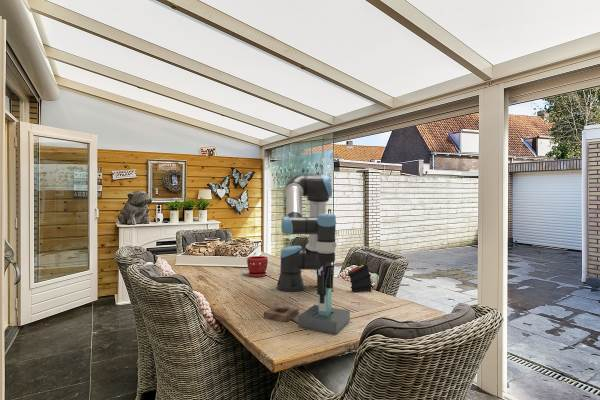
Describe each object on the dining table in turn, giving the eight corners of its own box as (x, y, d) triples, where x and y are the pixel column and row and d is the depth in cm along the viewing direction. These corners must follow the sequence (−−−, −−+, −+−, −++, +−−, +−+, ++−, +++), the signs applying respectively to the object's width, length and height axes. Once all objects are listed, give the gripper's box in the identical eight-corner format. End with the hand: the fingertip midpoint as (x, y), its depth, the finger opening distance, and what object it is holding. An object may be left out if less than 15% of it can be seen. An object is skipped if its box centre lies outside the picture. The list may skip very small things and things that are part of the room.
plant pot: (271, 275, 233) (271, 256, 233) (258, 279, 222) (258, 259, 222) (255, 272, 240) (256, 254, 240) (242, 276, 229) (242, 257, 229)
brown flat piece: (263, 317, 152) (264, 311, 152) (276, 310, 162) (276, 305, 162) (286, 322, 148) (286, 316, 148) (298, 314, 158) (298, 308, 157)
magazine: (377, 288, 198) (367, 264, 196) (357, 299, 195) (346, 275, 193) (373, 286, 202) (363, 262, 200) (354, 297, 199) (344, 273, 197)
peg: (318, 318, 145) (318, 289, 145) (322, 315, 149) (322, 286, 149) (327, 320, 144) (328, 290, 143) (331, 317, 147) (331, 288, 147)
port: (298, 327, 143) (298, 315, 142) (314, 315, 157) (314, 304, 157) (336, 334, 136) (336, 322, 135) (349, 321, 150) (349, 310, 150)
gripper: (326, 255, 137) (325, 317, 137) (341, 249, 152) (340, 304, 152) (308, 254, 140) (307, 313, 140) (325, 248, 155) (324, 302, 155)
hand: (324, 309), depth 146 cm, fingers closed on peg, 4 cm apart
